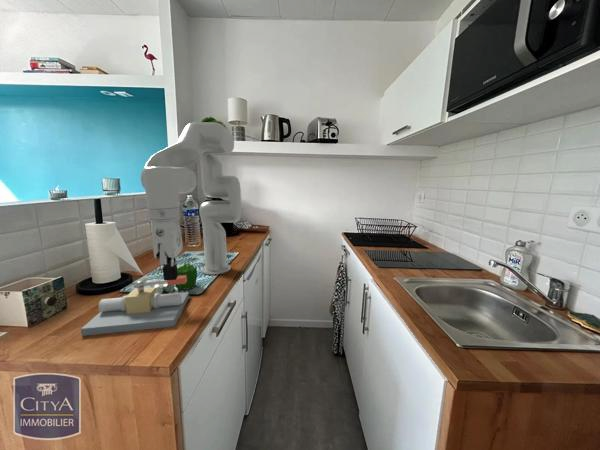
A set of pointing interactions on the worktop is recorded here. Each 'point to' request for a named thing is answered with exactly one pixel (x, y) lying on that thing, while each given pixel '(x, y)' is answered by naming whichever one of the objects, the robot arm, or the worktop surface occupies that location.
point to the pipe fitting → (162, 287)
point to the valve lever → (159, 282)
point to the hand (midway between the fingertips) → (171, 278)
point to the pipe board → (137, 312)
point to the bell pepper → (191, 276)
